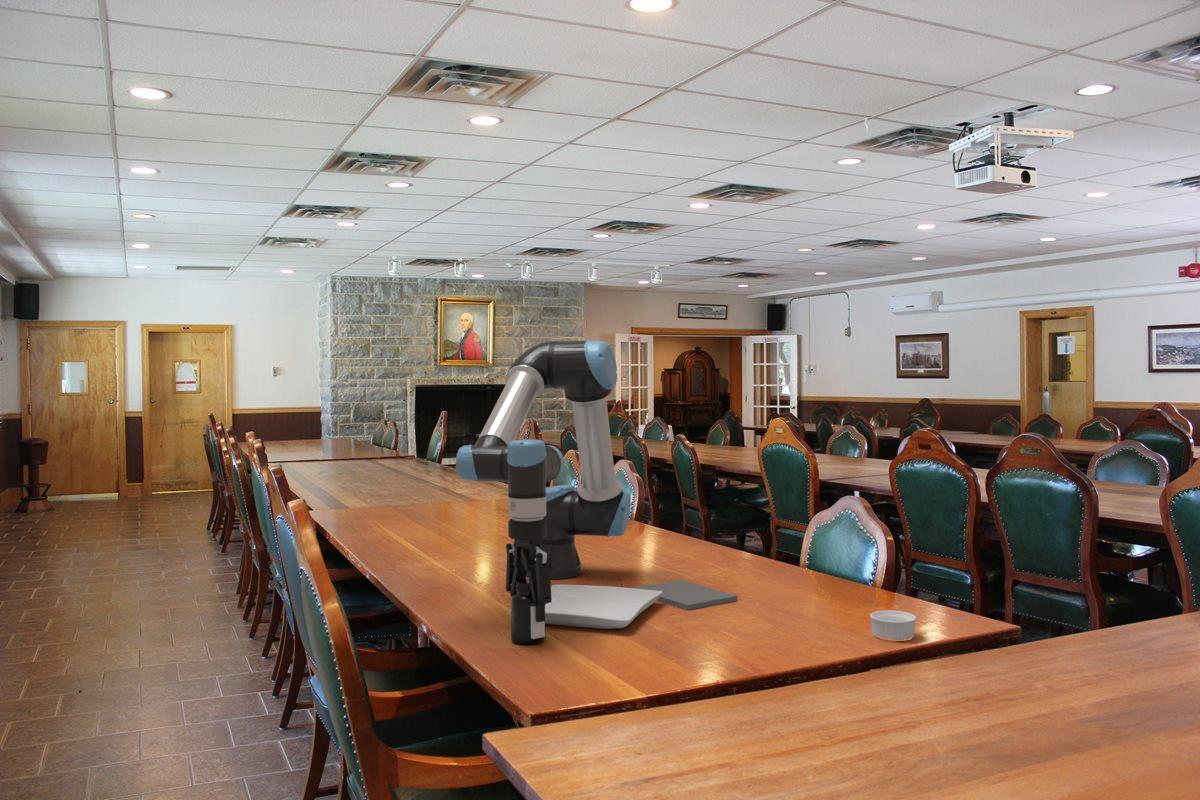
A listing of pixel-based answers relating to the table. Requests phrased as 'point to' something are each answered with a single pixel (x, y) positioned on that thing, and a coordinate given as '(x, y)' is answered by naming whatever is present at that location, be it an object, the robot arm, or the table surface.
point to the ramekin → (893, 624)
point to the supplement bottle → (522, 615)
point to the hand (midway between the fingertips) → (528, 632)
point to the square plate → (596, 605)
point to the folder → (689, 594)
